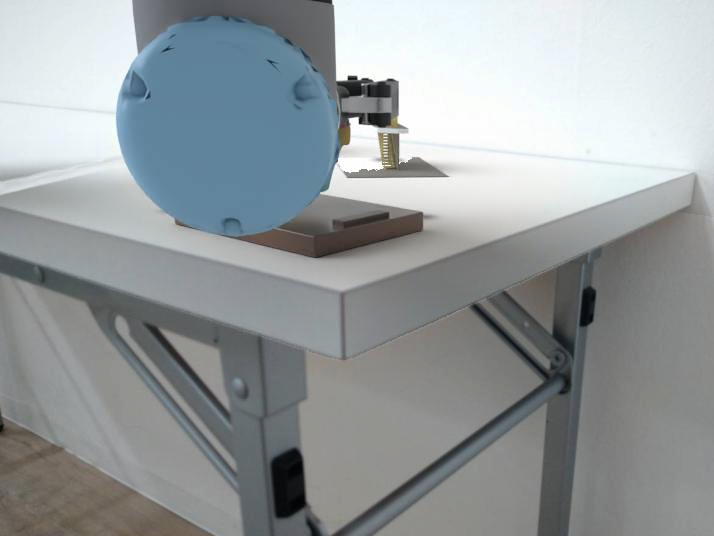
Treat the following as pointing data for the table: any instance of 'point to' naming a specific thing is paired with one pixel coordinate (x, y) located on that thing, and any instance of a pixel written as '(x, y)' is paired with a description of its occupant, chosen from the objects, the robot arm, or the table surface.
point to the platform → (396, 157)
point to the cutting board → (337, 226)
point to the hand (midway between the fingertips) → (297, 91)
